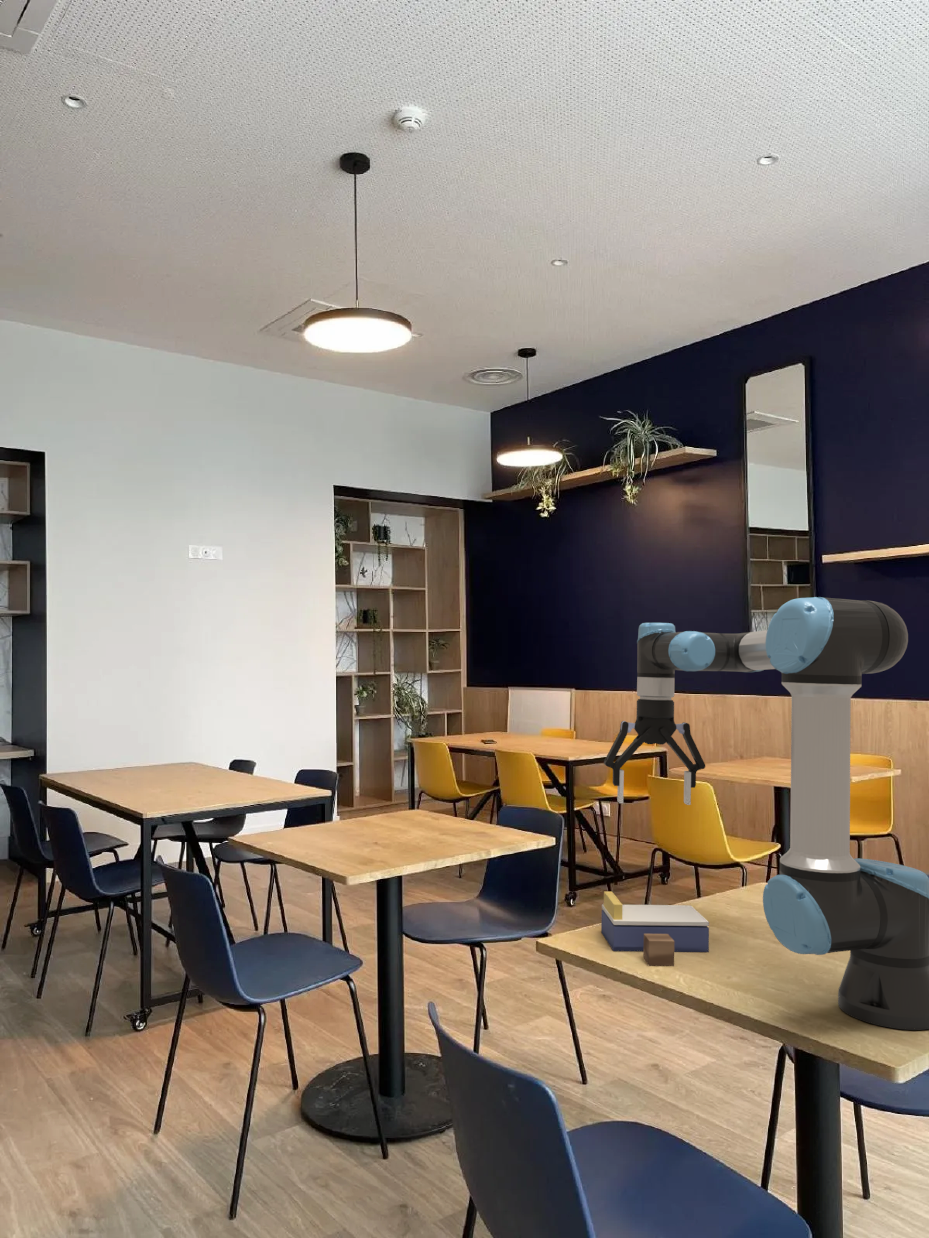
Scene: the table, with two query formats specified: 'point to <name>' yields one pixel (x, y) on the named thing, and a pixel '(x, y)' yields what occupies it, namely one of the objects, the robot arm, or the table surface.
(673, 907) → the lid
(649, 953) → the block
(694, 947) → the blue tray
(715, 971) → the table surface
